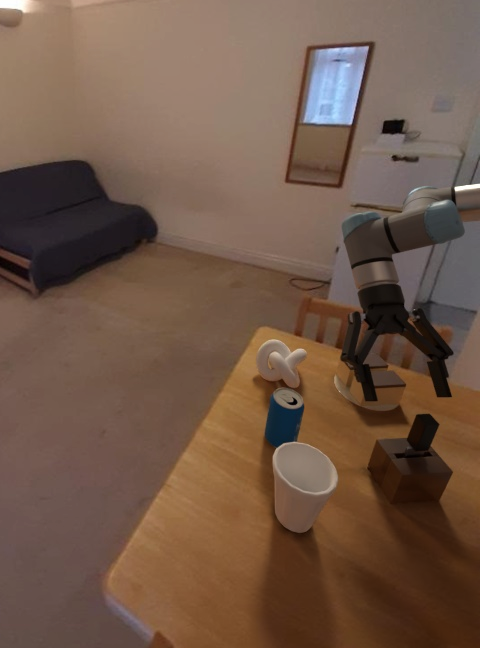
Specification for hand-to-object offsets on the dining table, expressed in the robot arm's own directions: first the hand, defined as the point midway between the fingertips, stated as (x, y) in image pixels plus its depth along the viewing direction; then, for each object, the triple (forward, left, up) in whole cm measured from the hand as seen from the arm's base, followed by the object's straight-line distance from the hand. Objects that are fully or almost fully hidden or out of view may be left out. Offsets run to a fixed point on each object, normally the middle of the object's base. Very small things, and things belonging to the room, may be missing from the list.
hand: (408, 399), depth 74 cm
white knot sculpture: (+23, -17, -17) cm, 33 cm away
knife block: (-2, +4, -17) cm, 17 cm away
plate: (+3, -20, -17) cm, 26 cm away
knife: (-2, +4, -17) cm, 17 cm away
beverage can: (+20, +3, -17) cm, 26 cm away
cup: (+16, +19, -17) cm, 30 cm away
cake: (+3, -20, -16) cm, 25 cm away
